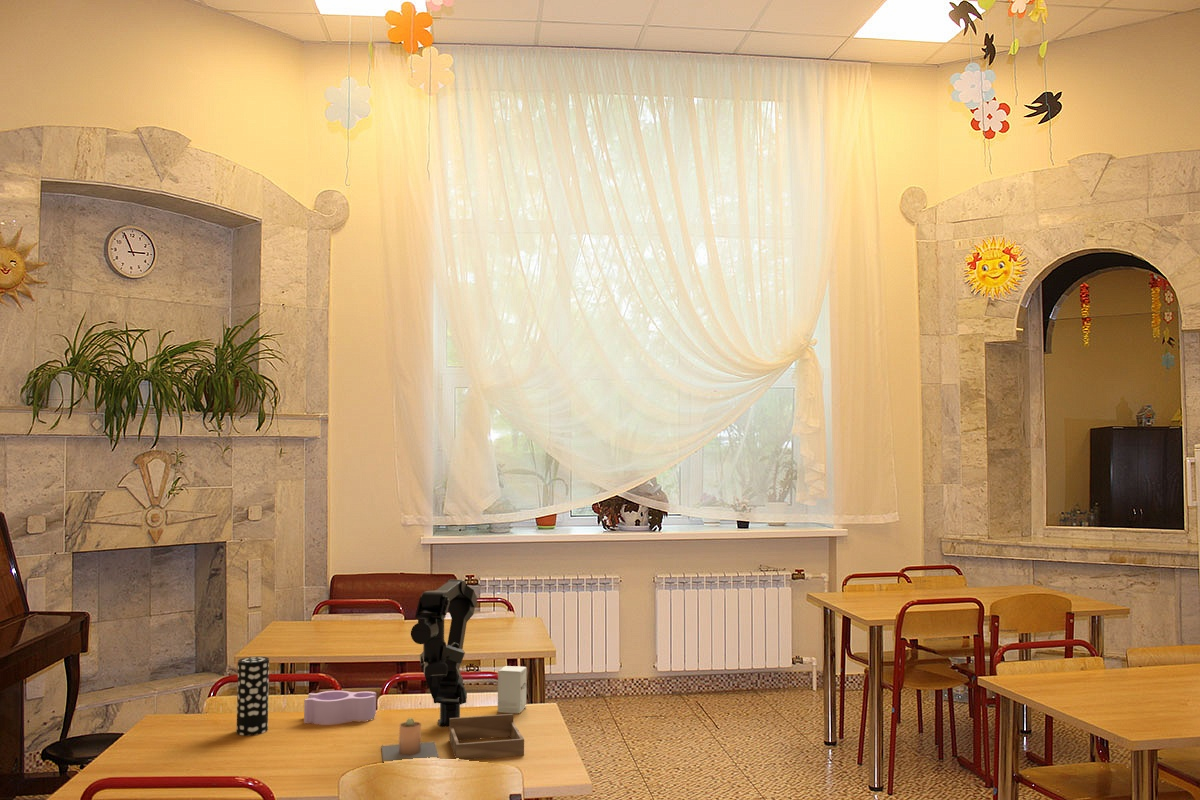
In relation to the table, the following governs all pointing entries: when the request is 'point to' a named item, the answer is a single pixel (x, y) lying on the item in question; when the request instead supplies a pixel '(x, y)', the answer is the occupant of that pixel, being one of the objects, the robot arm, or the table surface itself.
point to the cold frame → (485, 736)
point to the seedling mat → (393, 754)
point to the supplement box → (512, 689)
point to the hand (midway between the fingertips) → (433, 694)
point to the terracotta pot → (409, 737)
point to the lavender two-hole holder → (339, 707)
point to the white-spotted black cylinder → (252, 695)
